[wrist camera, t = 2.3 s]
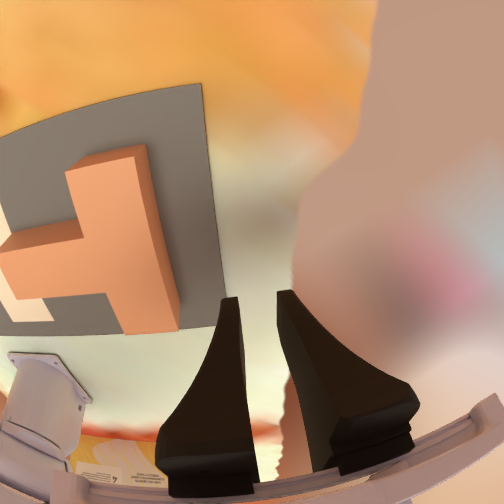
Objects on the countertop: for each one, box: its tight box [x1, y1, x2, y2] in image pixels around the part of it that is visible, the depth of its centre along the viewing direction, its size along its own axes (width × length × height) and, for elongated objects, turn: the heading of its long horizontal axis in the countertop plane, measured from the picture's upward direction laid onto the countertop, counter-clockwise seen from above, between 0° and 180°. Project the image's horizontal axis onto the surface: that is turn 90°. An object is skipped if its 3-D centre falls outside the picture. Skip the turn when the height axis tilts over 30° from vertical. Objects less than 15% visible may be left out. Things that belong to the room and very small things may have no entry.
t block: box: [0, 143, 180, 335], centre depth 17 cm, size 12×12×3 cm
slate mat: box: [0, 84, 226, 336], centre depth 18 cm, size 18×31×1 cm, turn 93°
